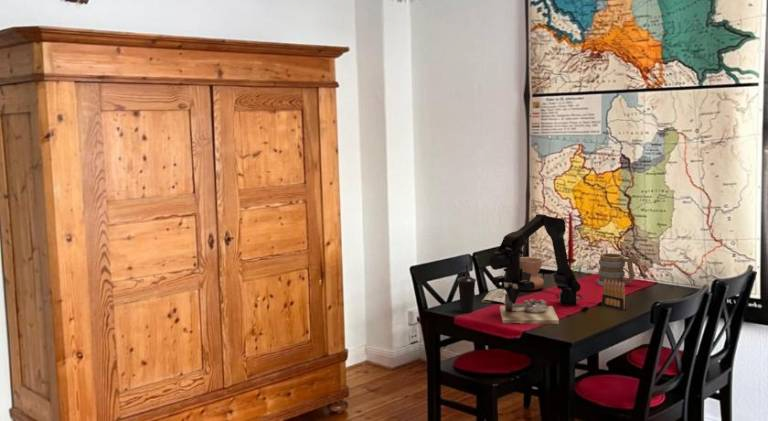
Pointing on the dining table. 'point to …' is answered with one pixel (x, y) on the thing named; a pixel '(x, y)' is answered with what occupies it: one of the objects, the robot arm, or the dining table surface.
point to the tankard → (615, 268)
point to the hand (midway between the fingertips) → (513, 303)
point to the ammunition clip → (614, 295)
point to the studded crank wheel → (526, 305)
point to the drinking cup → (466, 292)
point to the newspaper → (495, 296)
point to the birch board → (529, 316)
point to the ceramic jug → (532, 270)
